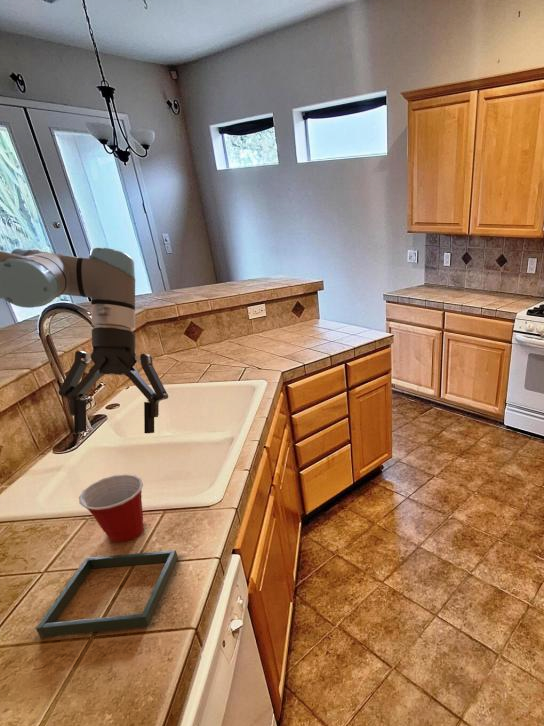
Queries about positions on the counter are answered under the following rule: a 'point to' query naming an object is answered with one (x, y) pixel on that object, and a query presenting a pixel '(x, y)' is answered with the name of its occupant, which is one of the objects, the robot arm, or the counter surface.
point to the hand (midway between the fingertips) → (115, 432)
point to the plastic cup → (116, 505)
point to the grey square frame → (52, 628)
